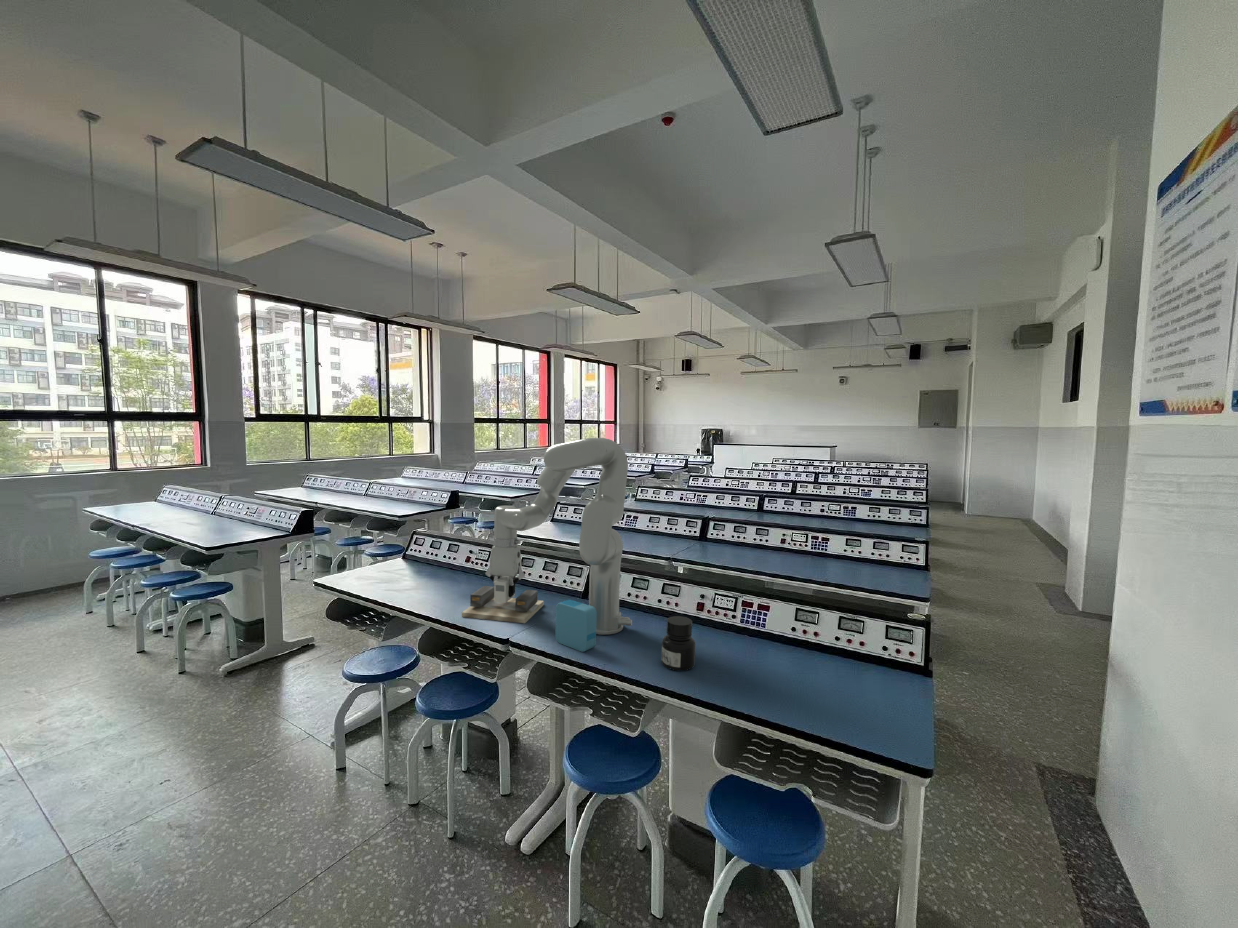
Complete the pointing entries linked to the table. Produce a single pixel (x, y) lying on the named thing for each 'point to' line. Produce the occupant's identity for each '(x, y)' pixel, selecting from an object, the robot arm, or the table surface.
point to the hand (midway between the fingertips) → (504, 594)
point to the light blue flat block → (576, 625)
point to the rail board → (502, 606)
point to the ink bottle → (678, 644)
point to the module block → (502, 589)
